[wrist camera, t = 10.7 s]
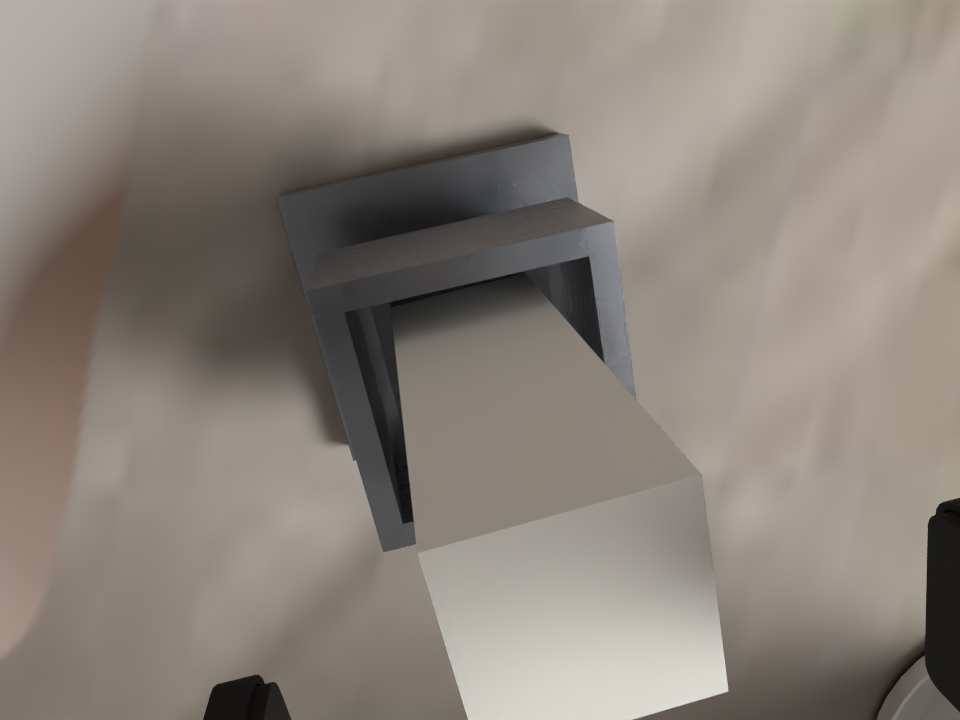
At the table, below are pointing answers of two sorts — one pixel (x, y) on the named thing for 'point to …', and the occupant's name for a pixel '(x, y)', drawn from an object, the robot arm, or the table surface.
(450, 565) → the rail post
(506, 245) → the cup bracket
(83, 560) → the table surface
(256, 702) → the robot arm
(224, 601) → the table surface
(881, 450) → the table surface
